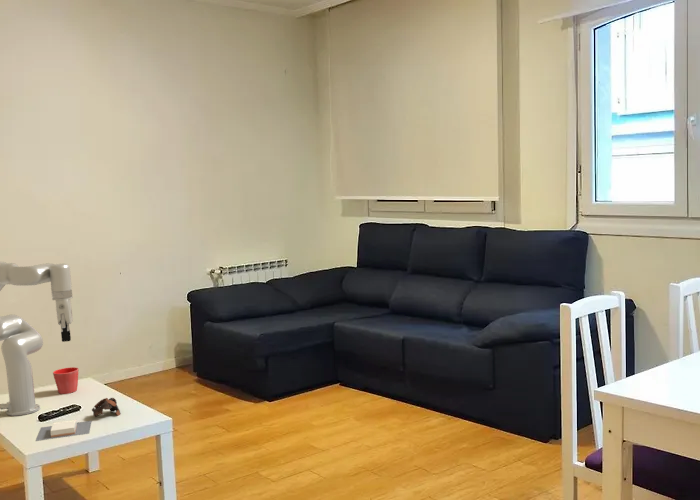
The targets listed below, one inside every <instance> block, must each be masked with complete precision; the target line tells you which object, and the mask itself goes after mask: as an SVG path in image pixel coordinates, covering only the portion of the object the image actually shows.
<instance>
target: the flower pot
mask: <svg viewBox="0 0 700 500" xmlns="http://www.w3.org/2000/svg"><path fill="white" fill-rule="evenodd" d="M52 375H53V378H54V382H55V385H56V389H57V392H58V394H60V395H66V394H67V395H69V394H71V393H75V392H78V391H77V390H78V385H79V383H78V382H79V368H78V367H74V366H73V367H65V368H64V367H63V368H58V369H57V370H54V371H53V372H52Z"/></svg>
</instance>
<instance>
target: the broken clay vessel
mask: <svg viewBox="0 0 700 500" xmlns="http://www.w3.org/2000/svg"><path fill="white" fill-rule="evenodd" d="M104 410H109V411H110V413H111V412H115V415H116V417H118V416H121V414H122V413H121V410H120V409H119V406H118V405H117V400H116V399H115V398H114V397H110V398H109V399H108V398H107V397H106V398H102V399H101V400H100V401H98V402H97V403H96V404H95V405H94V407H93V408H92V409H91V411H92V412H93V414H92V415H93V417H97V416H99V415H104Z"/></svg>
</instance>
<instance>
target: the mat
mask: <svg viewBox="0 0 700 500" xmlns="http://www.w3.org/2000/svg"><path fill="white" fill-rule="evenodd" d="M91 426H92V420H87V421H81V422H80V421H79V422H77V428H76V431H75V434H72V435H65V436H58V437H51V428H52V425H50V426H42V427H40V429H39V431H38V434H37V436H36V438H35V442H39V441H46V440H53V439H60V438H66V437H68V438H69V437H74V436H83V435H88V434H90V431H91Z"/></svg>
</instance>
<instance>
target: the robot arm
mask: <svg viewBox="0 0 700 500" xmlns="http://www.w3.org/2000/svg"><path fill="white" fill-rule="evenodd" d="M47 283H50V289H51V300H52V301H55V311H56V317H57V318H56V319H57V323H58V324H57V325H59V326H60V334H61V335H60V336H61V342H62V343H63V342H64V343H65V342H71V341H72V340H71V338H72V337H71V330H70V325H71V324H72V323H73V322H74V321H73V320H74V318H73V309H72V303H71V302H72V301H71V299H73V290H72V289H73V288H72V287H73V286H72V277H71V267H70V265H69V264H68V263H49V262H48V263H42V264H35V265H30V266H19V265H18V264H16V263H13V262H8V263H7V262H5V261H0V292H2V290H3V288H4V287H5V286H6V285H12V286H24V287H26V286H37V285H41V284H47ZM1 341H2V342H1ZM0 342H1V348H0V349H1V353H2V357H3V360H4V363H5V364H4V365H5V371H6V372H5V373H6V380H7V388H8V389H7V390H8V398H9V399H8V400H9V401H8V402H6V403H0V410H1V411H2V410H5V409H6V411H5V412H6V415H8V416H13V417H14V416H25V415H29V414H33V413H35V412H37V411H39V410H40V409H41V405H40V404H37V403H36V396H35V395H36V394H35V386H34V385H35V384H34V375H33V367H32V363H31V361H30V360H29V357H28V356H29V355H32V354H35V353H37V352H39V351H40V350H41V349H42V348H43V346H44V340H43V337H42V335H41V334H40V332H38V331H37V329H36V328H34V327H33V326H32V325H31V324H30V323H28V321H27V320H25V319H24V318H23V317H22V316H19V315H17V314H7V315H0Z"/></svg>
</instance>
